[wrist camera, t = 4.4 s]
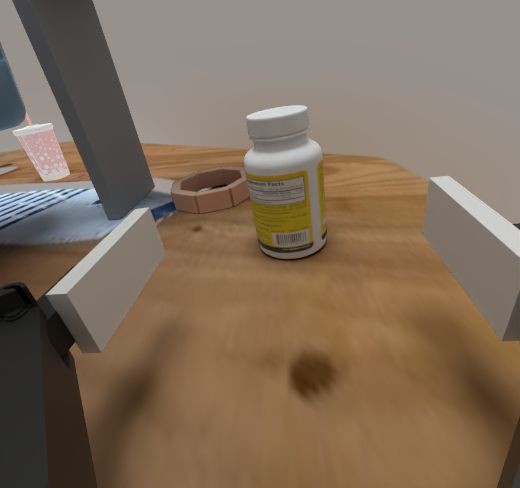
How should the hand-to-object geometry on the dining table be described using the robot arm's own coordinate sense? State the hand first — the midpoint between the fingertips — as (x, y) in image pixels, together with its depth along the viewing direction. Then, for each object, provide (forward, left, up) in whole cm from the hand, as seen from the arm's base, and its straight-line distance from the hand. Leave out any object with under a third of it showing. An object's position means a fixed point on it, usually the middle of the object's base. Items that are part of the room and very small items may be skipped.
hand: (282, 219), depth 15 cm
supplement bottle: (-4, +7, -6) cm, 10 cm away
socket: (-18, +13, -6) cm, 23 cm away
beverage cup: (-58, +12, -6) cm, 60 cm away
